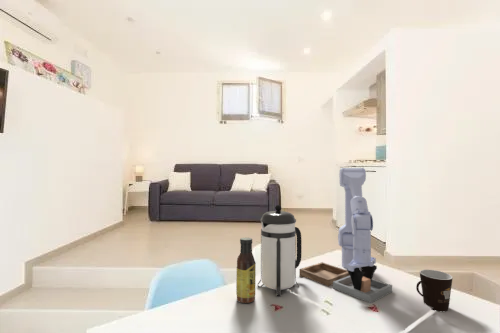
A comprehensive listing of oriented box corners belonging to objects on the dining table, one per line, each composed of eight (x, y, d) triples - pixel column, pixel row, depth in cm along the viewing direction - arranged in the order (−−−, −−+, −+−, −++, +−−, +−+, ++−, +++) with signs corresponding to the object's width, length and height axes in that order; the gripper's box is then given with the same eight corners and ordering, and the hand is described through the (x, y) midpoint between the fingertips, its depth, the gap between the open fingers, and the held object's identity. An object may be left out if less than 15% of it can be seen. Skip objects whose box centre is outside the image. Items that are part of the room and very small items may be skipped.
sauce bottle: (253, 305, 88) (253, 241, 88) (234, 303, 89) (234, 240, 89) (257, 296, 94) (257, 237, 94) (239, 294, 95) (239, 236, 96)
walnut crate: (322, 269, 120) (322, 262, 120) (351, 279, 109) (350, 271, 109) (299, 276, 112) (299, 269, 112) (328, 288, 101) (328, 280, 101)
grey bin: (355, 281, 107) (355, 273, 107) (392, 294, 96) (392, 285, 96) (332, 290, 99) (332, 281, 99) (370, 305, 88) (370, 296, 88)
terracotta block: (360, 286, 100) (360, 275, 100) (370, 290, 97) (370, 278, 97) (353, 289, 98) (353, 277, 98) (364, 293, 95) (364, 281, 95)
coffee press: (302, 299, 92) (302, 207, 93) (254, 295, 95) (255, 206, 95) (301, 278, 109) (301, 202, 110) (260, 276, 112) (261, 201, 112)
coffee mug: (442, 300, 91) (442, 270, 91) (459, 314, 83) (459, 280, 83) (405, 299, 92) (404, 268, 92) (418, 312, 84) (417, 278, 84)
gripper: (360, 254, 90) (360, 297, 90) (383, 247, 99) (384, 286, 99) (341, 249, 96) (342, 289, 96) (365, 243, 105) (365, 279, 104)
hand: (362, 287), depth 98 cm, fingers open, 5 cm apart
